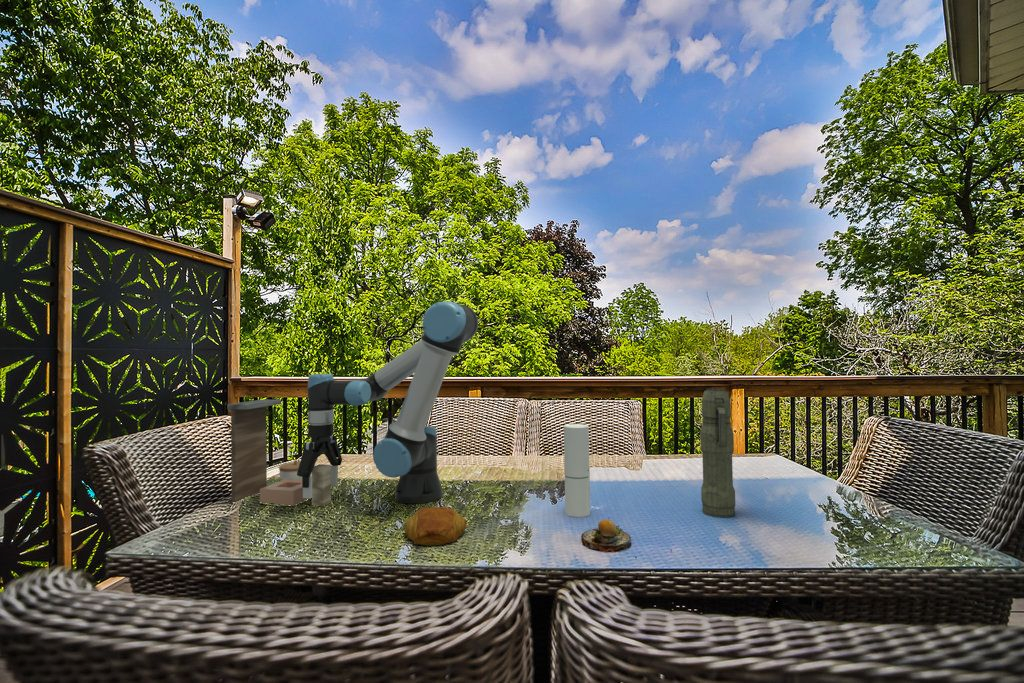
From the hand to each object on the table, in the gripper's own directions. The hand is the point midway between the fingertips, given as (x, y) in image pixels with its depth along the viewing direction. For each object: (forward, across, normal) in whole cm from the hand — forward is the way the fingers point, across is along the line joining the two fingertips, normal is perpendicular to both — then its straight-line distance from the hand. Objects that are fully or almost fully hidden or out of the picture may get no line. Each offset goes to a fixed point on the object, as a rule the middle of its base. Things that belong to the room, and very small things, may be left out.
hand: (321, 491), depth 158 cm
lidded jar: (+4, -17, -22) cm, 28 cm away
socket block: (+4, -2, -13) cm, 14 cm away
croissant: (+4, +19, +45) cm, 49 cm away
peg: (+4, 0, 0) cm, 4 cm away
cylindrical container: (+4, -6, +79) cm, 79 cm away
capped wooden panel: (+4, -2, -25) cm, 25 cm away
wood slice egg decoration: (+4, +15, +88) cm, 89 cm away
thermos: (+3, -14, +118) cm, 119 cm away
